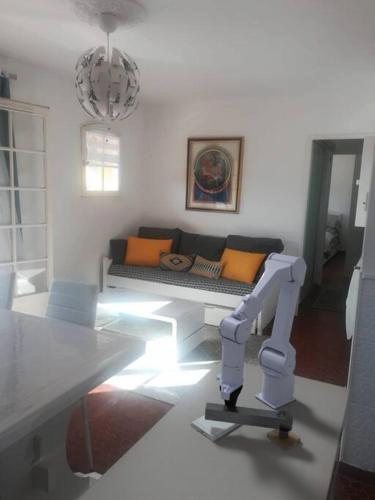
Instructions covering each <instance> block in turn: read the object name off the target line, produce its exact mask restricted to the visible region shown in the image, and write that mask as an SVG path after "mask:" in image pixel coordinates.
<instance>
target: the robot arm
mask: <svg viewBox="0 0 375 500" xmlns="http://www.w3.org/2000/svg"><path fill="white" fill-rule="evenodd" d="M307 267H308V266H307V264H306V261H305V259H304V258H303V257H301V256H298V257H297V256H292V255H288V254H287V255H286V254H281V253H277V252H272V253H270V254H269V255H268V257H267V258H266V260H265V262H264V272H263V274H262V275H261V277H260V278H259V280H258V282H257V284H256V285H255V287H254V288H253V290H252V292H251V293H249V294H248V293H247V294H245V295H244V296H243V297H242V298H241V300H240V301H239V303H238V305H237V306H236V307H235V308H234V310H233V311H232V312H231V313H230V315H227V316H225V317H223V318H222V319H221V321H220V323H219V326H218V327H217V332H218V335H219V337H220V342H221V345H222V347H221V364H220V365H221V367H220V373H217V375H216V378H215V379H216V380H217V381H219V384H220V385H219V392H220V399H222V400H223V402H224V405H231V406H237V402H238V398H239V396H240V394H241V392H242V390H243V388H244V380H245V379H244V369H245V368H244V366H245V365H244V363H245V350H246V349H245V348H246V342H247V341H248V340H249V339H250V337H251V334H252V329H253V327H254V324H253V323H254V322H255V321H256V319H257V317H258V316H259V314H260V313H261V312H262V311H263V309H264V303H263V301H265V299H266V298H267V296H268V295H269V294H270V293H271V292H272V290H273V289H274V288H275V287H276V286H277V284H278V283H279V285H280V290H279V292H280V293H279V296H278V300H277V307H276V312H275V316H274V322H273V326H272V331H271V336H270V338H268V339H266V340H264V341H263V342H262V345H261V348H260V349H259V352H258V355H257V360H258V361H257V362H258V364H259V365H260V366H261V370H262V371H263V373H262V381H261V382H262V384H261V392H258V393H256V394H254V397H255V398H257V399H258V400H260V401H262V403H265V404H266V405H268V406H269V407H271V409H278V408H281V407H282V406H285V405H286V404H288V403H291V402H293V401H295V400H296V397H295V396H294V393H295V391H294V390H295V379H296V378H295V374H294V373H293V372H294V370H295V369H296V363H297V362H296V354H297V351H296V348H294V346H293V345H292V344H291V342H290V337H291V333H292V329H293V328H292V327H293V323H294V318H295V313H296V309H297V308H296V307H297V303H298V298H299V297H298V296H299V293H300V288H301V287H303V286H304V283H305V278H306V273H307Z"/></svg>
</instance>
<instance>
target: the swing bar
mask: <svg viewBox="0 0 375 500" xmlns="http://www.w3.org/2000/svg"><path fill="white" fill-rule="evenodd" d="M204 408H205V410H204V412H205V413H204V415H205V420H212V421H220V422H227V423H235V424H240V425H243V426H251V427H258V428H265V429H272V430H274V429H279V430H281V431H285V432H288V431H291V432H292V431H293V428H294V427H293V424H294V415H293V414H292V413H291V412H289V411H285V410H280V411H279V410H278V411H276V410H271V409H269V410H268V409H262V408H261V409H260V408H254V407H247V406H246V407H245V406H238V405H236V406H231V405H225V404H223V403H221V404H220V403H215V402H207V401H206V404H205V407H204Z"/></svg>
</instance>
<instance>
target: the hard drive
mask: <svg viewBox="0 0 375 500" xmlns="http://www.w3.org/2000/svg"><path fill="white" fill-rule="evenodd" d="M240 425H241V424H235V423H227V422H220V421H212V420H205V414H204V415H202V416H201V417H199V418H197V419H195V420H193V421H191V423H190V426H191V427H192V428H194V429H195V430H197V431H198V432H200V433H201V434H202V435H204V436H205V437H207V438H208V439H210V440H211V441H213V442H214V441H216V440H217V439H218V438H220V437H223V436H224V435H225V434H227V433H228V432H230V431H232V430H234V429H235V428H237V427H238V426H240Z"/></svg>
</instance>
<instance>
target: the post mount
mask: <svg viewBox="0 0 375 500" xmlns="http://www.w3.org/2000/svg"><path fill="white" fill-rule="evenodd" d="M265 437H266V438H267V439H269V440H270V441H271V442H273V443H274V444H276V445H277V446H278V447H279V448H281V449H282V450H283V451H285V450H286V451H287V450H288V449H290V448H292V446H295V445H297V444H298V443H300V442H301V440H302V439H301V437H300V436H299V435H297V434H296V433H294V432H293V431H292V430H291V431H288V432H285V431H281V430H279V429H272V430H269V431H268V432H267V433H266V435H265Z"/></svg>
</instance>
